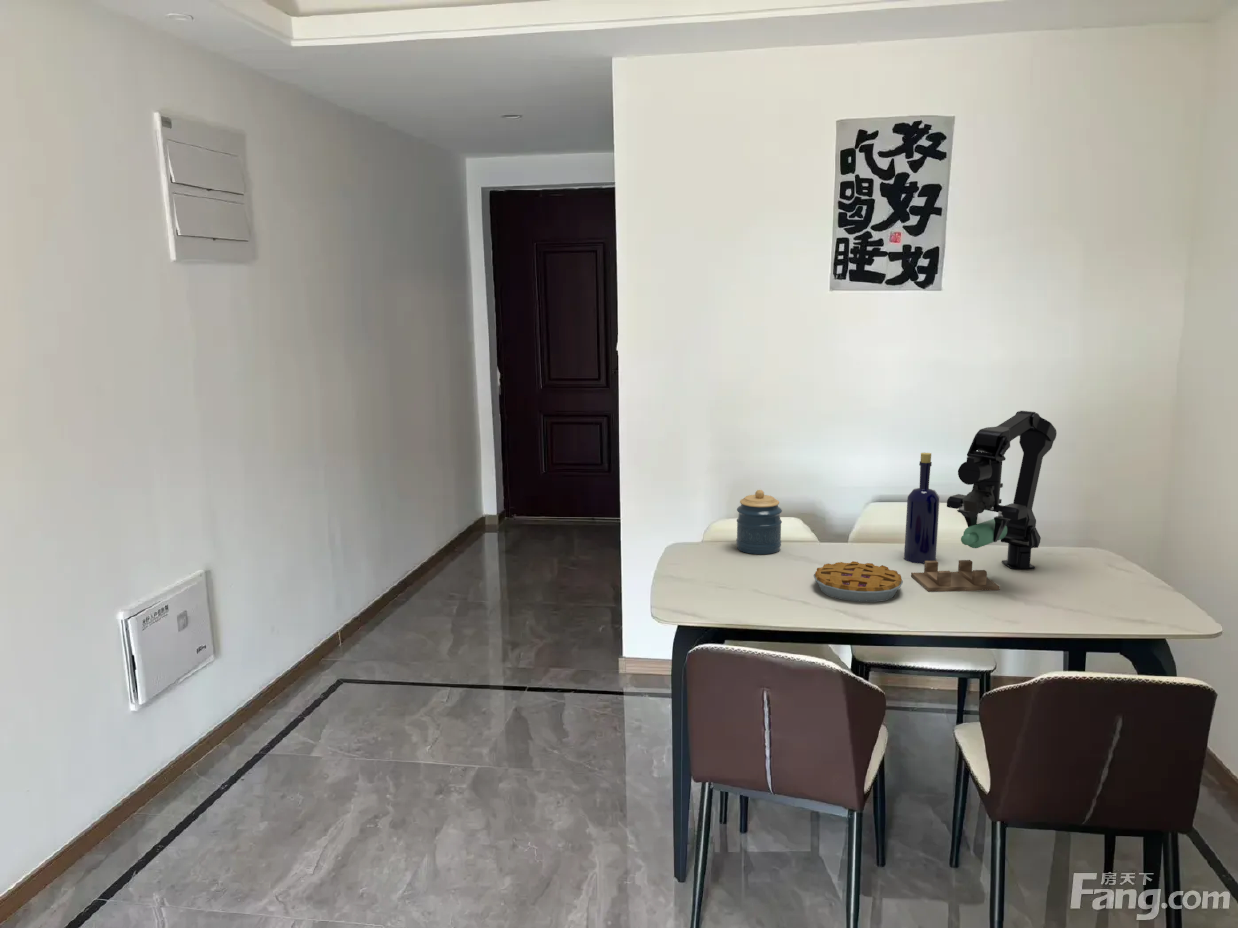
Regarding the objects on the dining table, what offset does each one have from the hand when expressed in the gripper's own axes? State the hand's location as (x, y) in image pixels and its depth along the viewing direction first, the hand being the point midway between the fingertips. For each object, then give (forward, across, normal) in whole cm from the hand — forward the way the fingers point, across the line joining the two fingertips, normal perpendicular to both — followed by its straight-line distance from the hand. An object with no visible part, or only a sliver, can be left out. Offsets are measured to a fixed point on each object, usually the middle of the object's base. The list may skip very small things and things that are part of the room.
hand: (983, 539), depth 226 cm
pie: (+12, -18, -28) cm, 35 cm away
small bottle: (+1, 0, -1) cm, 2 cm away
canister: (+12, -58, -18) cm, 62 cm away
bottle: (+11, -21, +7) cm, 25 cm away
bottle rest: (+11, -4, -6) cm, 13 cm away
